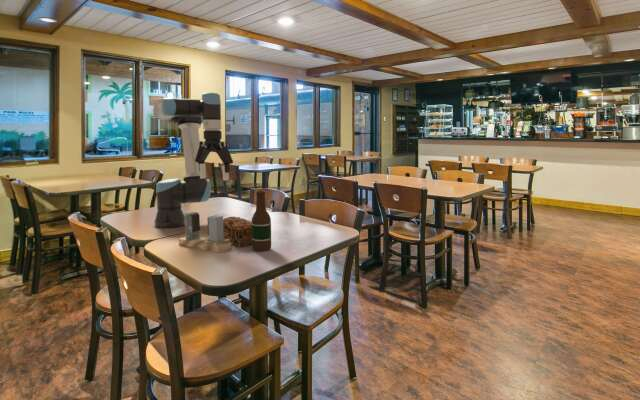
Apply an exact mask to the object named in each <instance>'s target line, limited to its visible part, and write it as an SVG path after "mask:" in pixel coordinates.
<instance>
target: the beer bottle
mask: <svg viewBox="0 0 640 400" xmlns="http://www.w3.org/2000/svg"><path fill="white" fill-rule="evenodd" d="M255 195H256V202H255V203H256V205H255V206H256V208H255V212H254V213H253V214H252V217H251V222H252V245H251V248H252V250H253V251H254V252H263V253H264V252H268V251H270V250H271V249H272V220H271V215H270V214H269V212H268V210H267V205H266V191H264V190H257V191H256V193H255Z"/></svg>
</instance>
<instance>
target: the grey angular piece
mask: <svg viewBox="0 0 640 400" xmlns="http://www.w3.org/2000/svg"><path fill="white" fill-rule="evenodd" d="M183 214H184V219H185V225H184V232H185V233H184V234H185V236H184V237H179V238H178V245H180V246H185V247H190V248H195V249H199V250H203V251H204V250H205V251H210V252H214V253H222V252H225V251H227V250H231V249H232V243H231V242H230V239H225V238H224V241H221V242H218V243H217V242H212V241H209V237H203V236H200V231H201V222H200V221H201V220H200V213H199V212H196V211H190V212H183Z"/></svg>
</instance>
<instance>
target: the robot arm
mask: <svg viewBox="0 0 640 400" xmlns="http://www.w3.org/2000/svg"><path fill="white" fill-rule="evenodd" d="M221 103H222V102H221V95H220V94H219V93H217V92H204V93H202V95H201V99H200V98H197V99H196V98H176V97H174V98H173V97H163V98H162V99H161V100H160V101H158V102H156V103H155V104H154V107H153V114H154V116H155V118H157V119H158V120H159V121H161V122H164V123H169V124H177V127H178V129H180V130H181V138H182V148H183V157H184V167H185V175H184V176H183V179H182V180H181V179H180V178H179V177H178V178H169V179H163V180H160V181H158V182H157V183H156V185H155V186H156V187H155V193H156V206H157V207H156V208H157V210H156V211H157V212H156V215H155V219H154V227H156V228H163V229H164V228H167V229H168V228H171V229H172V228H178V227H182V226H185V219H184V212H183V209H182V205H183V204H192V203H194V204H195V203H197V204H198V203H204V202H207V201H209V200H210V197H211V193H212V184H211V181H210V179H208V178H207V172H206V163H205V162H206V160H207V158H208V156H209V155H210V154H211V153H216V154H217V155H218V157H219V159H220V160H221V162H222V163H223V164H222V181H229V180H230V178H229V174H230V165H232V164H234V161H233V157H232V155H231V153H230V151H229V148H228V142H227V141H221V140H222V139H223V138H222V137H223V135H222V110H221V109H222V108H221V106H222V105H221ZM201 127H203V128H202V129H203V139H204V140H203V141H202V140H201V141H200V132H199V130H200V128H201Z"/></svg>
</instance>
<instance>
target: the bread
mask: <svg viewBox="0 0 640 400" xmlns="http://www.w3.org/2000/svg"><path fill="white" fill-rule="evenodd" d="M223 232H224V238H225V239H230V242H231V245H235V246H237V247H239V248H240V247H247V246H252V220H251V221H250V220H248V219H246V218H241V217H240V216H239V217H237V216H228V217H224V218H223Z"/></svg>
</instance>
